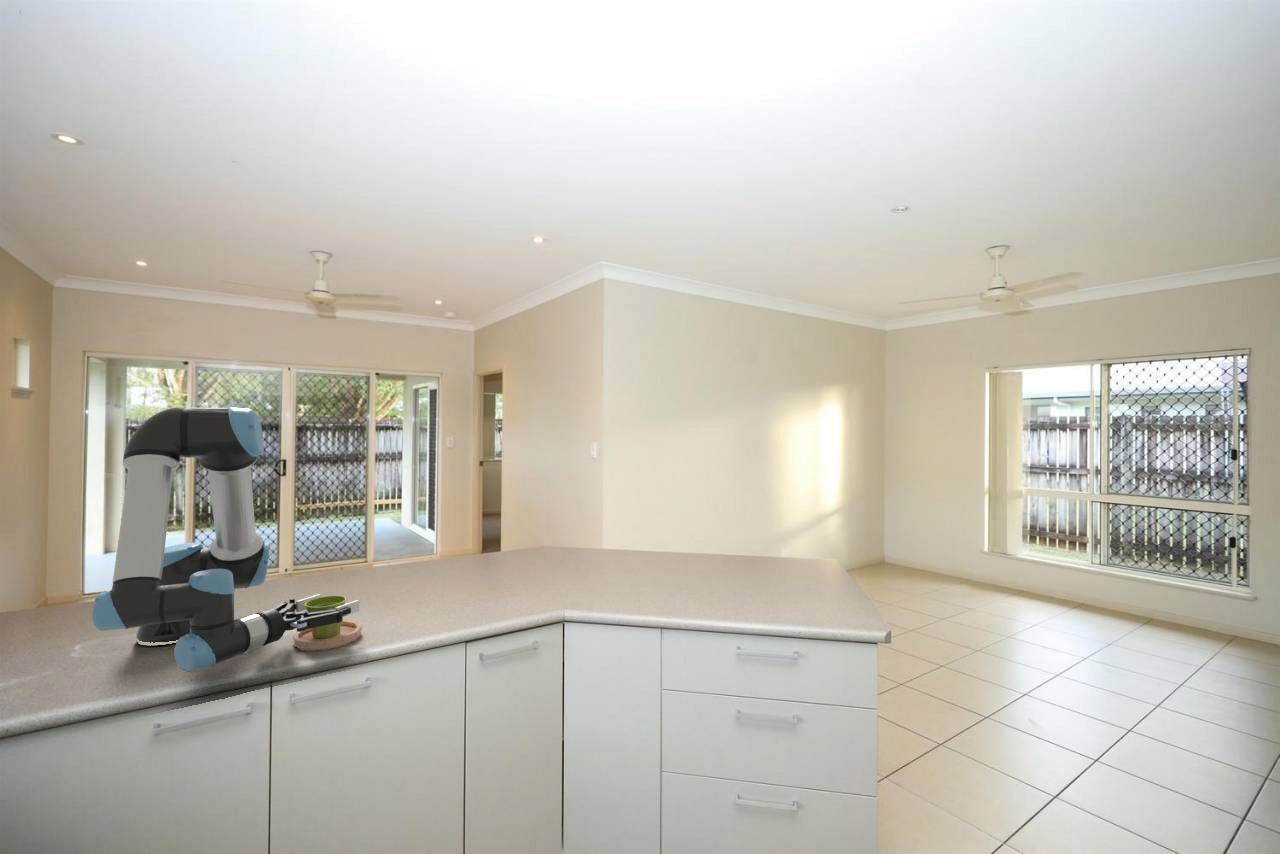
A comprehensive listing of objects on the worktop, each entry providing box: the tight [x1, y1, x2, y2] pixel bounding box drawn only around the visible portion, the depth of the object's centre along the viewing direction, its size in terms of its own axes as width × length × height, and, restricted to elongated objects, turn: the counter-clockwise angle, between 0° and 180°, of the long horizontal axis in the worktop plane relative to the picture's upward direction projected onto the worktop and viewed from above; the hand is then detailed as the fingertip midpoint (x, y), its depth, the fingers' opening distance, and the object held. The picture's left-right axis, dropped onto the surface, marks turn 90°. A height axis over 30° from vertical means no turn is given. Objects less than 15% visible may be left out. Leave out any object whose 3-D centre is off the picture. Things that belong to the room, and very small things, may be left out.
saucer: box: [292, 619, 363, 652], centre depth 147 cm, size 15×15×2 cm
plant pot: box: [305, 595, 348, 639], centre depth 146 cm, size 9×9×9 cm
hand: (338, 602), depth 150 cm, fingers open, 13 cm apart
